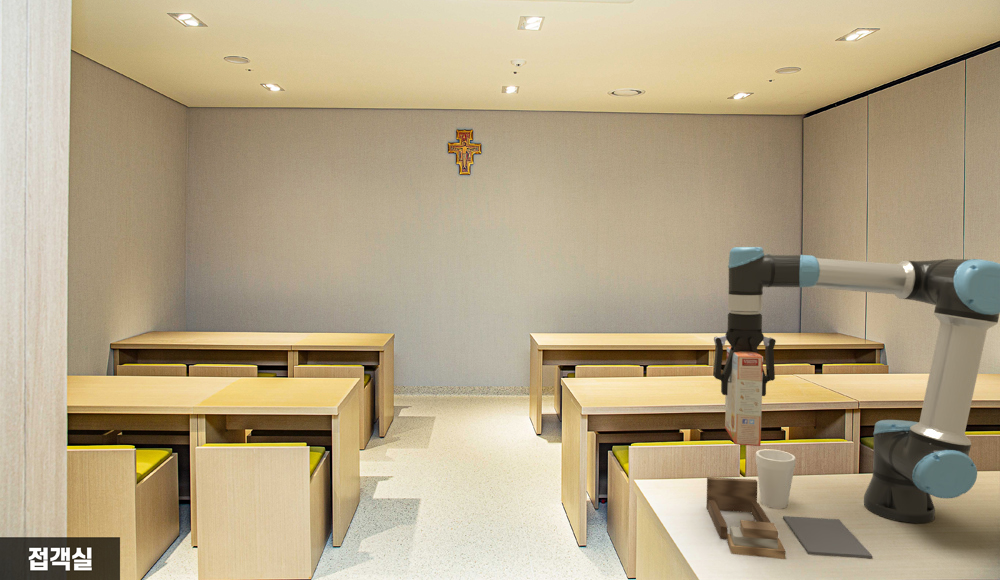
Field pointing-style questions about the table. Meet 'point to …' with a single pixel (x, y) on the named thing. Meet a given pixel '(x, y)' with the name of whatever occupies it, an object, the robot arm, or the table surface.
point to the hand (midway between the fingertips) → (742, 408)
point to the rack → (732, 500)
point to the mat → (826, 537)
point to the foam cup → (775, 476)
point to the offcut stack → (756, 540)
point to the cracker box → (745, 398)
